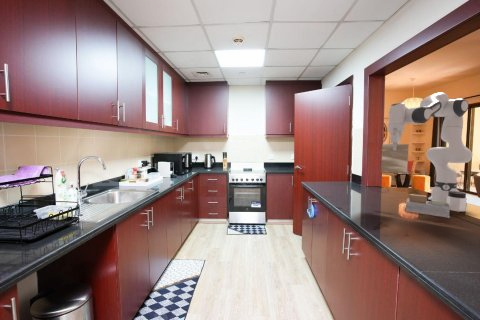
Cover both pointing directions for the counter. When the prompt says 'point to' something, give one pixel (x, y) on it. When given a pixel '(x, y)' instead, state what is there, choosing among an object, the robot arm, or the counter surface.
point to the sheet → (394, 158)
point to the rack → (428, 208)
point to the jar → (456, 201)
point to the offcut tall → (417, 198)
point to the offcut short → (438, 203)
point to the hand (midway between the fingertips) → (395, 150)
